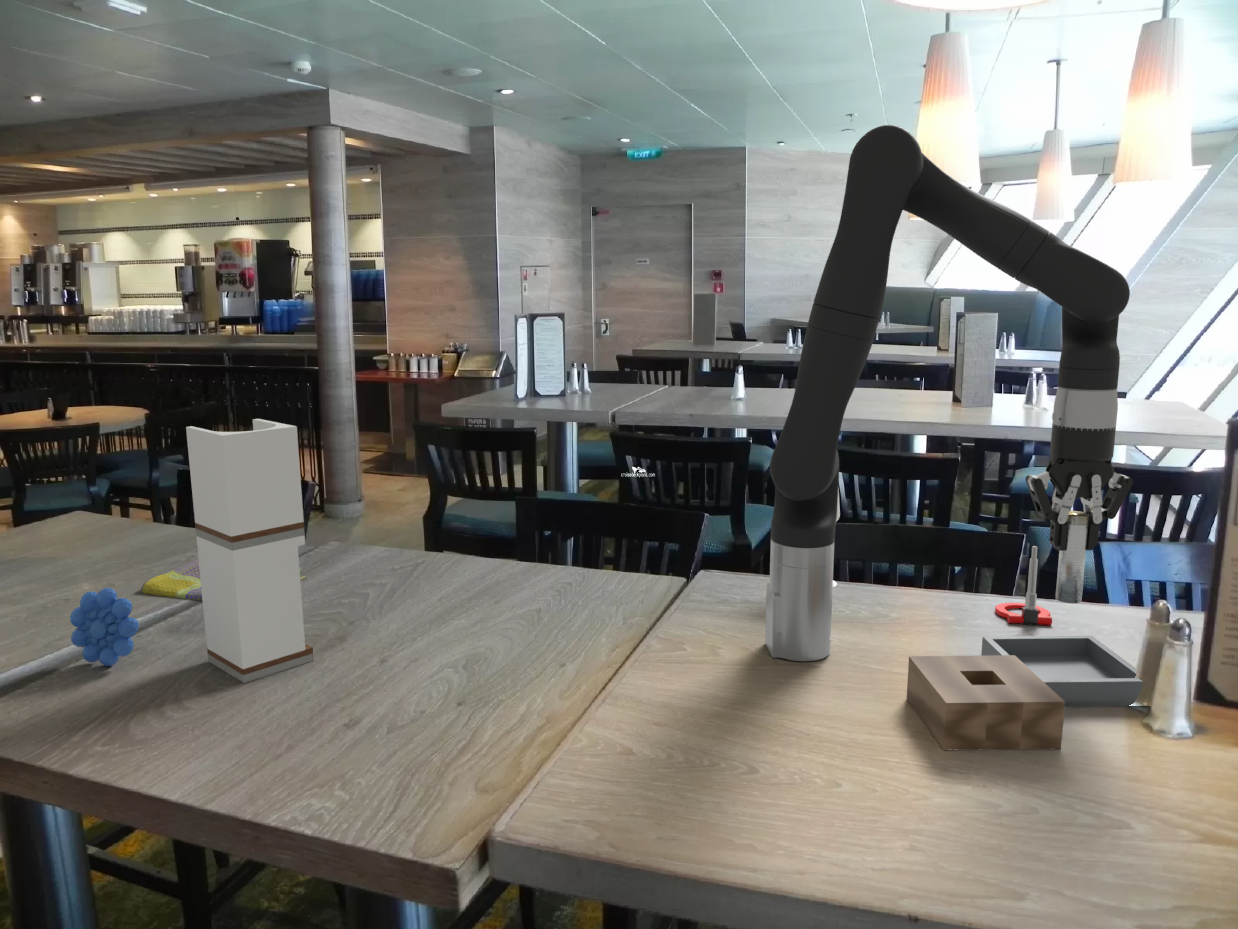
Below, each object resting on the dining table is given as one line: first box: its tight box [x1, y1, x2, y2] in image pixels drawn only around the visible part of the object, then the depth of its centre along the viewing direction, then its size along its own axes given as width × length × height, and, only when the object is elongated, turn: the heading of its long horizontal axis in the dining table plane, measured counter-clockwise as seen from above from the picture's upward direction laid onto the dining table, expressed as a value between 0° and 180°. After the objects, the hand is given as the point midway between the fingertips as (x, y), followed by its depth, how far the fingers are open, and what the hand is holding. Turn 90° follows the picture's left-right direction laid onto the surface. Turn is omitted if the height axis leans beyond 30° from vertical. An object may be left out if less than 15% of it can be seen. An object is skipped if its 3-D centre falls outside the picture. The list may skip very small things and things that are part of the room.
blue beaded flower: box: [69, 587, 140, 667], centre depth 138 cm, size 12×7×12 cm, turn 75°
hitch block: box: [906, 655, 1066, 751], centre depth 118 cm, size 14×14×6 cm
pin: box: [1055, 510, 1089, 604], centre depth 127 cm, size 3×3×12 cm
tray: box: [980, 635, 1143, 708], centre depth 130 cm, size 16×16×4 cm
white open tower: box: [185, 418, 315, 684], centre depth 136 cm, size 11×11×35 cm
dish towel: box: [140, 558, 306, 602], centre depth 175 cm, size 18×24×3 cm
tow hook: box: [994, 545, 1053, 626], centre depth 155 cm, size 8×13×9 cm
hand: (1072, 548), depth 127 cm, fingers closed on pin, 3 cm apart
